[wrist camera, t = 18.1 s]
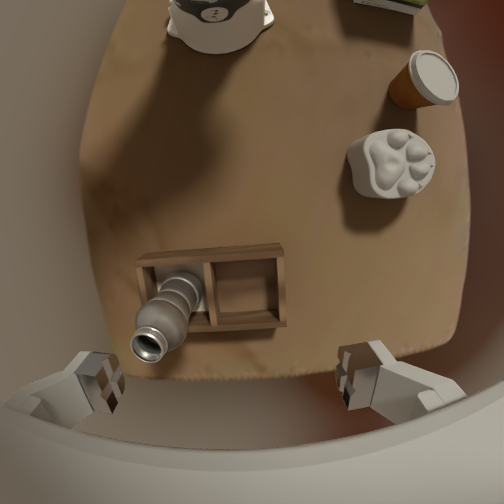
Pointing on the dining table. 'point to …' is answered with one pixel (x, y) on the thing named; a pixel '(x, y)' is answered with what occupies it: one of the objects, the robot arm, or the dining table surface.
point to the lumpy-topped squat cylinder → (390, 164)
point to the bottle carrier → (224, 285)
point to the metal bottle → (166, 317)
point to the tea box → (396, 5)
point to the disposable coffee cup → (424, 82)
